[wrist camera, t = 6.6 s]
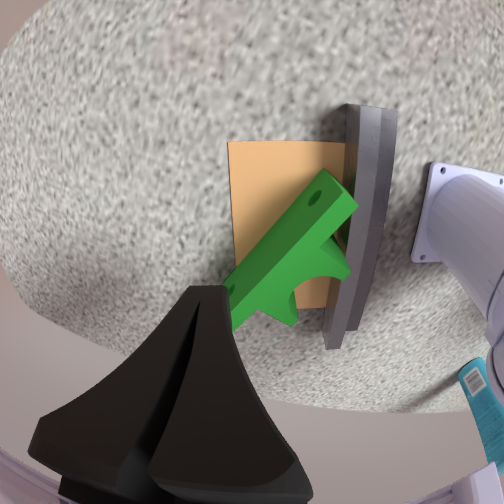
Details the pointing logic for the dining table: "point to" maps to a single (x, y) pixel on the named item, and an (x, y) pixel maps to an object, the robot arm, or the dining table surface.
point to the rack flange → (291, 186)
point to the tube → (485, 410)
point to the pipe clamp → (292, 253)
